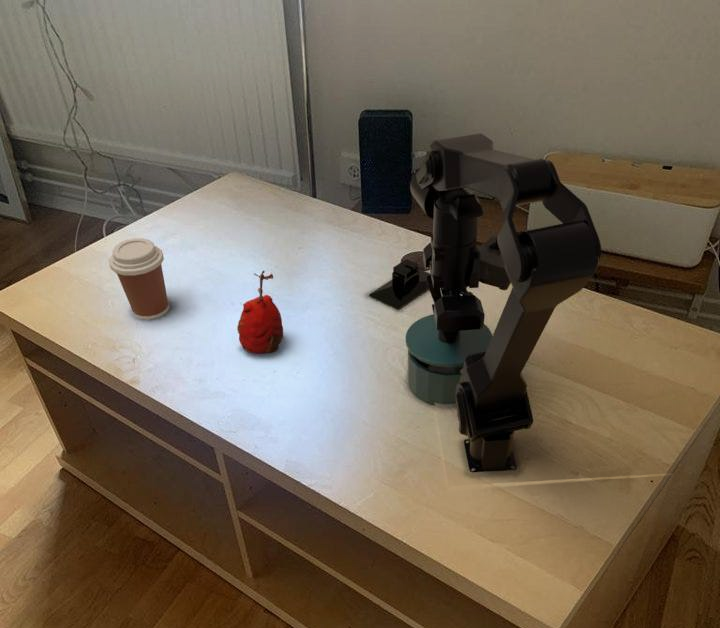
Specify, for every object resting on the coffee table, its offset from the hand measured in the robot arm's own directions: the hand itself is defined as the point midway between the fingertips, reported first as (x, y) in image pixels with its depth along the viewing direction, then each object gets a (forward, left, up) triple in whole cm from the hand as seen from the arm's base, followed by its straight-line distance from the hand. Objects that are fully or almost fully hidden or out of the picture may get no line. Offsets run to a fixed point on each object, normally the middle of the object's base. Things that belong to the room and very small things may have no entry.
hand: (448, 335), depth 106 cm
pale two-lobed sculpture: (0, 0, -8) cm, 9 cm away
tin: (0, 0, -9) cm, 9 cm away
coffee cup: (+25, +50, -9) cm, 57 cm away
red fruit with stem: (+12, +29, -9) cm, 33 cm away
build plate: (+27, +4, -9) cm, 29 cm away
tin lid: (0, 0, -1) cm, 1 cm away
